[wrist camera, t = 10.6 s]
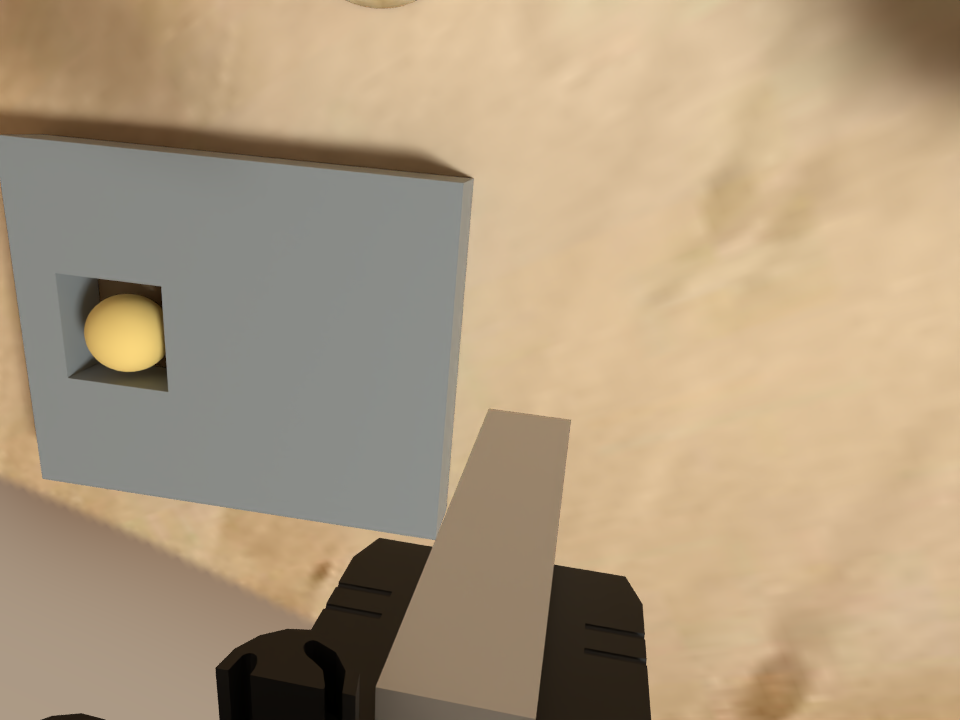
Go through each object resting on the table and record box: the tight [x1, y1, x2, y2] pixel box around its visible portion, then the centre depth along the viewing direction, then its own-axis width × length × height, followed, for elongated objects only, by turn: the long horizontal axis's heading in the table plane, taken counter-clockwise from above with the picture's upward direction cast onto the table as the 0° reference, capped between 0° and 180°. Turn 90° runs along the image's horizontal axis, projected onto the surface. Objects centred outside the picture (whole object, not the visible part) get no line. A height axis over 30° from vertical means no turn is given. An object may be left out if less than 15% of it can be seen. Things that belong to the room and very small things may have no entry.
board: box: [0, 134, 474, 540], centre depth 35 cm, size 18×22×3 cm
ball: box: [84, 294, 166, 372], centre depth 35 cm, size 4×4×4 cm
